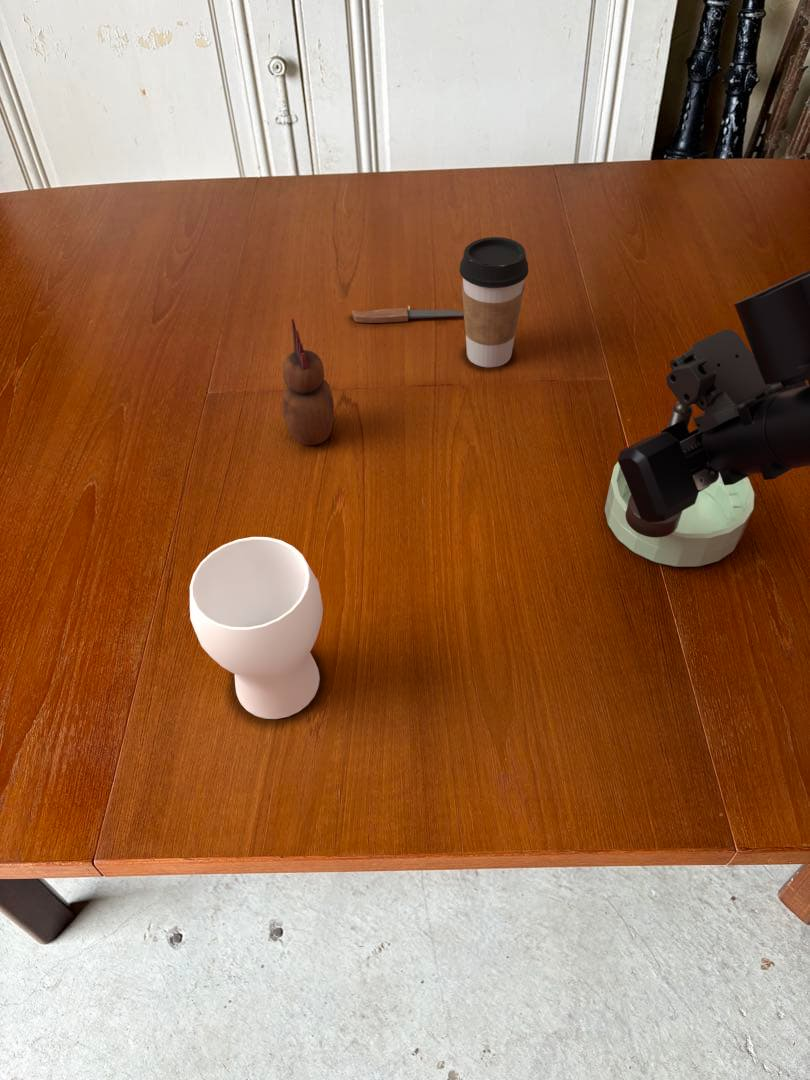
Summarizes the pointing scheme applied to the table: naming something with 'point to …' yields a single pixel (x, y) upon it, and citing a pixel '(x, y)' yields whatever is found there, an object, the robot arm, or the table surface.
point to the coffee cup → (492, 298)
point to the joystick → (632, 513)
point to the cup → (260, 622)
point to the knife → (400, 315)
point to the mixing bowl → (687, 524)
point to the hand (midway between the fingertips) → (656, 456)
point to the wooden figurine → (306, 395)
